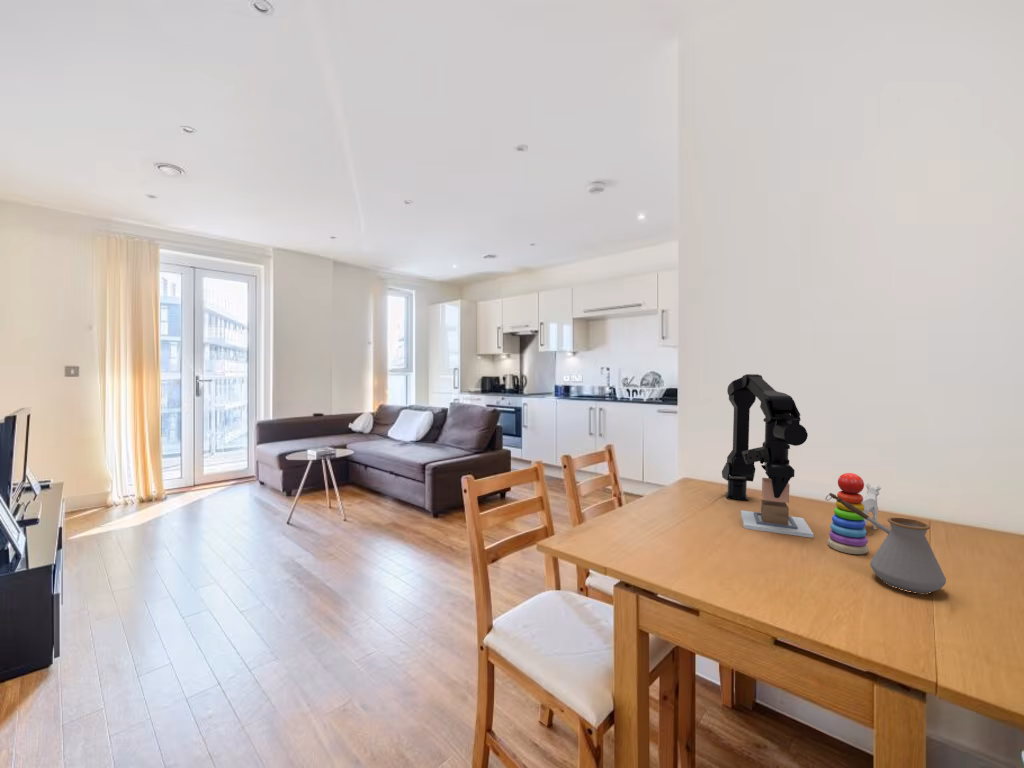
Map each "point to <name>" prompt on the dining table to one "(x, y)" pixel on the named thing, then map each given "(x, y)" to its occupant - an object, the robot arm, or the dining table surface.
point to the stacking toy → (849, 518)
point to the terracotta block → (768, 491)
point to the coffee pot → (904, 554)
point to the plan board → (776, 525)
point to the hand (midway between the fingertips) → (775, 494)
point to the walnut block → (774, 512)
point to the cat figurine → (871, 502)
